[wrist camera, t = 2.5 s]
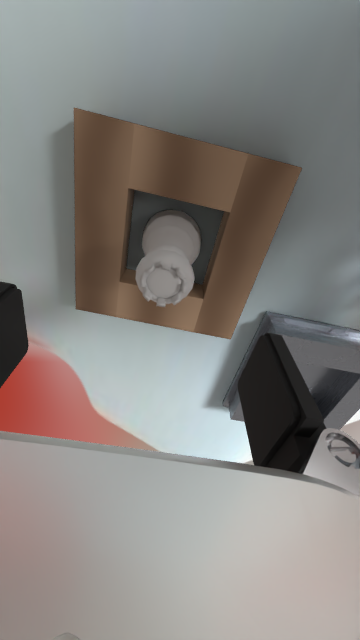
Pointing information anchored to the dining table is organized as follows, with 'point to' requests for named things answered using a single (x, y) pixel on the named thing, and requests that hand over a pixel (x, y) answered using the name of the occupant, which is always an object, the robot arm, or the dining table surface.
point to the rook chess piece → (168, 257)
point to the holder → (314, 365)
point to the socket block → (181, 184)
